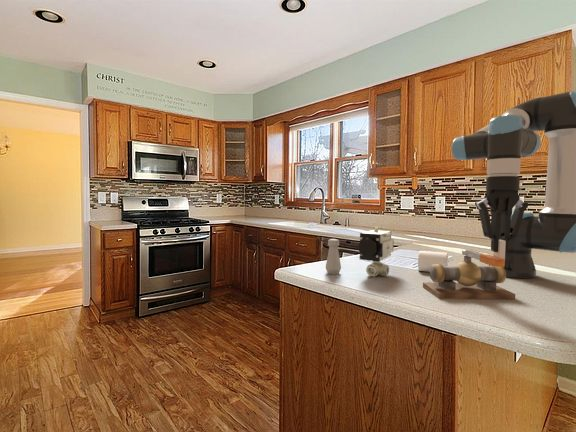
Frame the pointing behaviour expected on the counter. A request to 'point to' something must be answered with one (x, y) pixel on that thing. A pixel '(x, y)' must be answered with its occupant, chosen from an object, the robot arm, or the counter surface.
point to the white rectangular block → (431, 260)
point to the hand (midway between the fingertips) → (498, 263)
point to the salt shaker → (333, 258)
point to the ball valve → (376, 250)
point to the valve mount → (467, 281)
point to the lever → (485, 258)
